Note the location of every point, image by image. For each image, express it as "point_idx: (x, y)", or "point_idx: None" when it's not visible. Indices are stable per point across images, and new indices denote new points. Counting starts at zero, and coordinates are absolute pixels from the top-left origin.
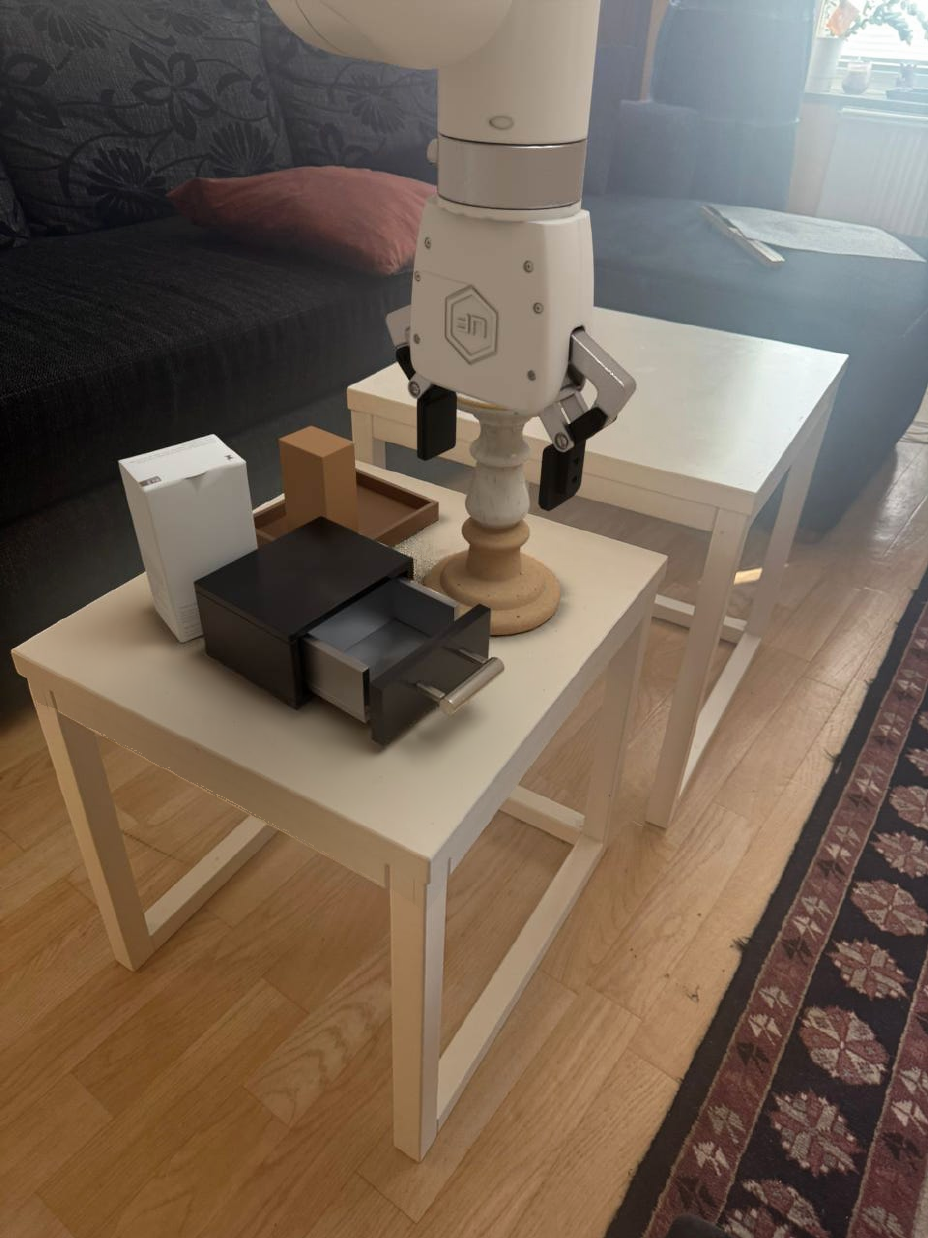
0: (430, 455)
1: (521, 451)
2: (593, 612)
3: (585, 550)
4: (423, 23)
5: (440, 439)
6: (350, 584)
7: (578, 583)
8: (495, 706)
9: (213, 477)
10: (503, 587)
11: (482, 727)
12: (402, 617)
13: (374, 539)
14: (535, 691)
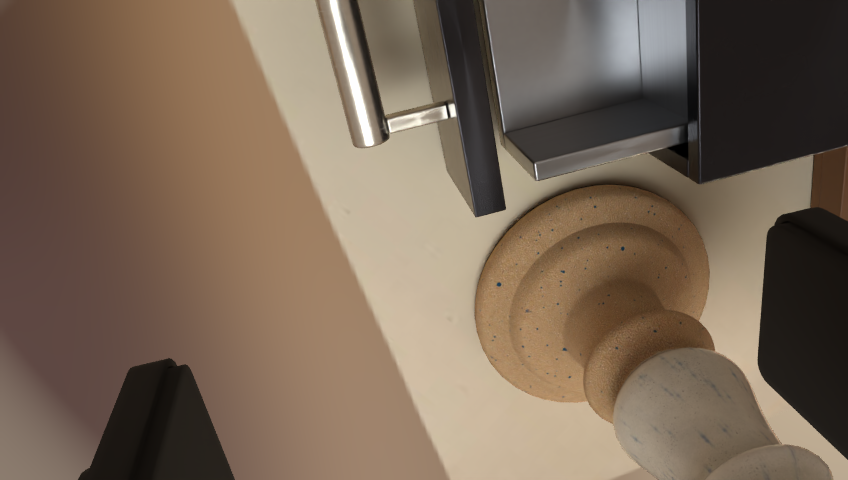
0: (776, 249)
1: None
2: (445, 392)
3: (568, 474)
4: None
5: (806, 329)
6: (730, 8)
7: (515, 418)
8: None
9: None
10: (559, 304)
11: None
12: (627, 105)
13: (839, 213)
14: (353, 197)
